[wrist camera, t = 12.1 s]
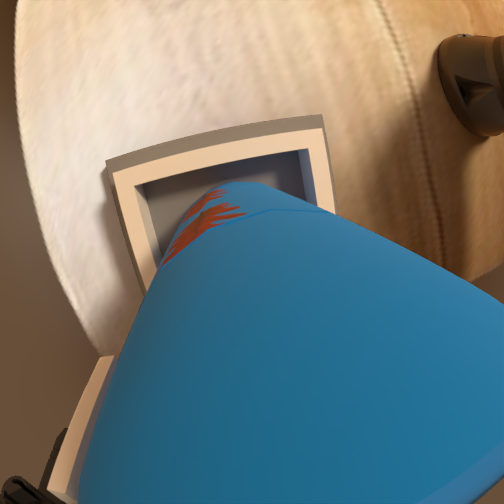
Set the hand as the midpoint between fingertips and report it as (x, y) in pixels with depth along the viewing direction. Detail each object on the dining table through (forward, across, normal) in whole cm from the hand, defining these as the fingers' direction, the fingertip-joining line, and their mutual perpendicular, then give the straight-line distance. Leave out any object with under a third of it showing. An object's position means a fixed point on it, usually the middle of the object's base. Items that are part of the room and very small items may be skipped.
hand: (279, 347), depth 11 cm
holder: (+18, 0, 0) cm, 18 cm away
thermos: (+17, 0, 0) cm, 17 cm away
